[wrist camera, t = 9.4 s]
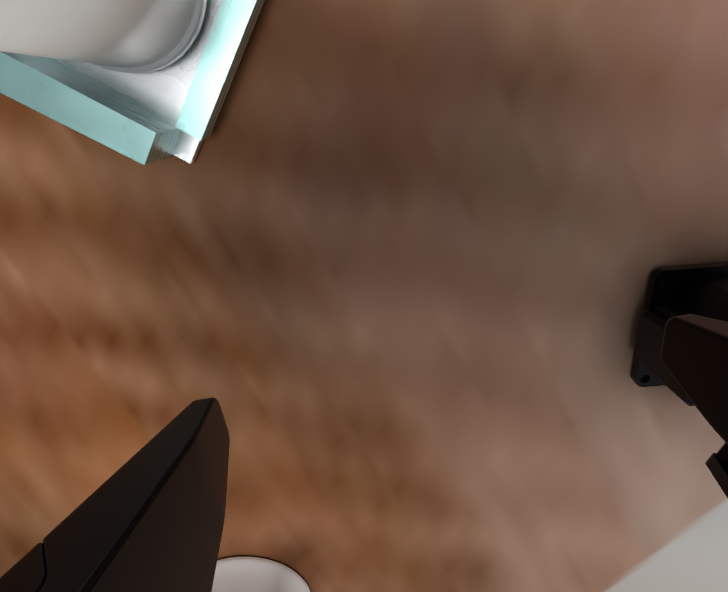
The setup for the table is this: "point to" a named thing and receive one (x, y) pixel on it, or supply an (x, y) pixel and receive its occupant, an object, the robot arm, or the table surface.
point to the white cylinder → (103, 31)
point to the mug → (256, 576)
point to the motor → (141, 90)
